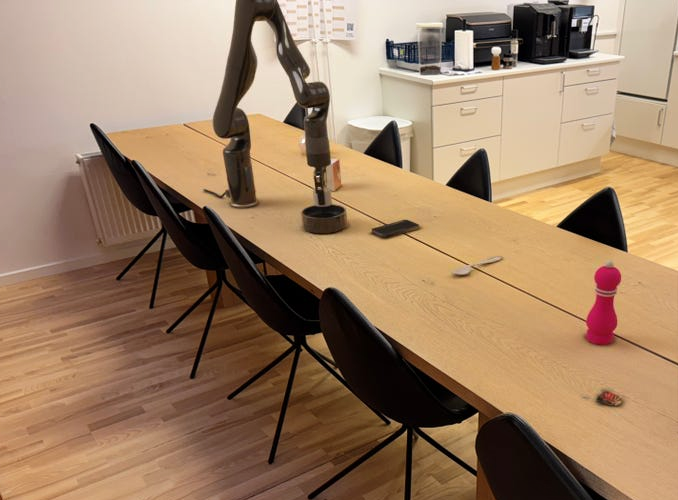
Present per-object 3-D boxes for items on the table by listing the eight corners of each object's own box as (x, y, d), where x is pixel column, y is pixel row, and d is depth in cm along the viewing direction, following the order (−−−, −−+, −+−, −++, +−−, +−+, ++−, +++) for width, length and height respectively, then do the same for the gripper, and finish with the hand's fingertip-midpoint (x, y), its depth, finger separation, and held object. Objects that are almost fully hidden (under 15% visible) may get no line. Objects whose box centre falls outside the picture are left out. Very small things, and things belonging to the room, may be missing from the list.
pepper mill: (580, 331, 165) (589, 254, 155) (609, 330, 166) (620, 254, 156) (588, 346, 159) (598, 267, 149) (618, 345, 160) (630, 266, 150)
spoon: (447, 275, 194) (447, 270, 193) (495, 256, 207) (495, 250, 206) (458, 279, 192) (458, 274, 191) (505, 259, 204) (505, 254, 203)
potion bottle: (308, 154, 315) (321, 165, 305) (291, 144, 308) (304, 155, 298) (318, 137, 313) (332, 147, 303) (301, 126, 306) (315, 137, 296)
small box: (334, 191, 262) (332, 164, 257) (321, 190, 263) (318, 163, 258) (341, 185, 269) (339, 158, 264) (328, 184, 270) (326, 157, 264)
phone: (370, 229, 223) (405, 219, 231) (370, 232, 223) (406, 222, 232) (384, 235, 218) (420, 225, 226) (384, 239, 218) (420, 228, 227)
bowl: (294, 226, 229) (292, 210, 226) (330, 216, 237) (329, 201, 234) (319, 238, 219) (317, 221, 217) (356, 227, 228) (355, 211, 225)
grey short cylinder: (310, 203, 224) (309, 189, 222) (325, 200, 228) (324, 186, 225) (320, 207, 221) (319, 193, 218) (335, 204, 224) (334, 190, 222)
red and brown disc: (595, 402, 139) (595, 400, 139) (602, 389, 143) (602, 387, 143) (617, 408, 138) (618, 406, 137) (624, 395, 141) (624, 393, 141)
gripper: (308, 144, 221) (313, 195, 230) (303, 155, 209) (308, 209, 218) (331, 144, 222) (336, 195, 230) (327, 155, 209) (332, 208, 218)
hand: (322, 201), depth 224 cm, fingers closed on grey short cylinder, 6 cm apart
